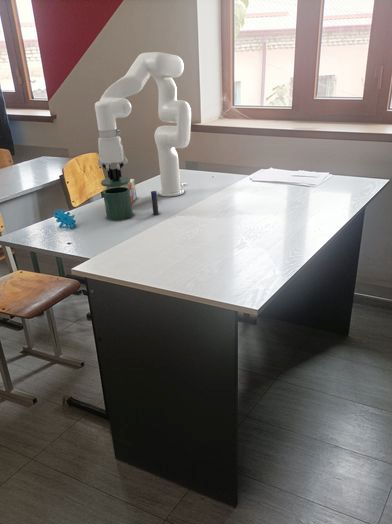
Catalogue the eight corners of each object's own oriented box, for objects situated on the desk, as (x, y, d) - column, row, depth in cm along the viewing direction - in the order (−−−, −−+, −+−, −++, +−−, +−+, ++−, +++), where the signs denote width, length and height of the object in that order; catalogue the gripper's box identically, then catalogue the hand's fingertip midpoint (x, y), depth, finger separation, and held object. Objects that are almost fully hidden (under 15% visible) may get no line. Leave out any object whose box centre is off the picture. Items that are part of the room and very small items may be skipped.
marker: (156, 212, 229) (154, 190, 223) (159, 213, 227) (157, 191, 222) (152, 214, 227) (149, 191, 222) (155, 215, 226) (153, 192, 220)
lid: (119, 178, 228) (116, 163, 224) (136, 182, 220) (134, 167, 216) (95, 185, 221) (93, 169, 217) (112, 189, 213) (110, 173, 209)
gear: (65, 228, 212) (50, 209, 212) (58, 237, 215) (44, 218, 216) (82, 224, 220) (69, 206, 221) (76, 232, 224) (63, 214, 224)
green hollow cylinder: (122, 211, 234) (119, 185, 228) (138, 215, 227) (134, 189, 221) (101, 217, 228) (97, 191, 222) (117, 222, 220) (113, 195, 214)
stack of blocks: (125, 198, 253) (121, 172, 246) (137, 198, 252) (133, 172, 245) (110, 211, 235) (106, 184, 229) (123, 211, 234) (119, 184, 228)
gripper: (129, 130, 212) (135, 175, 222) (90, 133, 213) (98, 178, 223) (126, 134, 206) (132, 180, 216) (87, 137, 206) (95, 182, 216)
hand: (115, 178), depth 219 cm, fingers closed on lid, 2 cm apart
